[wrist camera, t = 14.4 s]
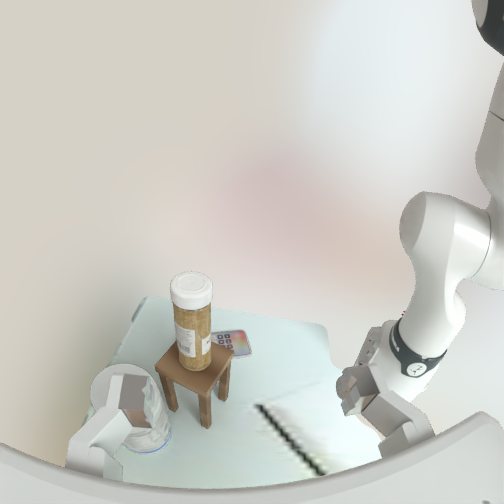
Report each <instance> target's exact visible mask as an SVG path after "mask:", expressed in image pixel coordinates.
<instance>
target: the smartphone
mask: <svg viewBox="0 0 504 504" xmlns="http://www.w3.org/2000/svg"><path fill="white" fill-rule="evenodd" d="M176 340H177V338H176ZM211 341H212V342H214V343H217V344H219V345H221V346H224V347H226V348H228V349H231V350H233V351H234V353H233V358H232V359H239V358H247V357H250V356H251V355H252V351H251V347H250V344H249V341H248V338H247V335H246V332H245V331H243V330H237V331H227V332H216V333H211Z"/></svg>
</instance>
